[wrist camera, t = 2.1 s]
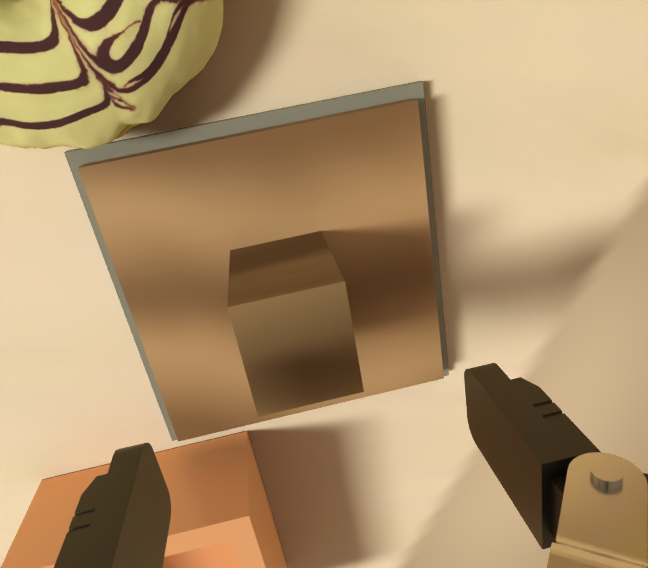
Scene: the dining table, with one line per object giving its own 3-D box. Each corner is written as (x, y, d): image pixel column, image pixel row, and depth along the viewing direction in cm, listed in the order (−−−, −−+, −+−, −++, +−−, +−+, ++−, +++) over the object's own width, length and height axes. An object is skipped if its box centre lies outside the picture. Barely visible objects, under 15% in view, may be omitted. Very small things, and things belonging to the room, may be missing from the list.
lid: (83, 163, 18) (22, 205, 13) (411, 98, 19) (476, 112, 14) (180, 429, 23) (163, 536, 18) (437, 368, 24) (493, 454, 19)
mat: (67, 150, 19) (64, 152, 18) (419, 81, 19) (423, 81, 19) (173, 434, 24) (172, 440, 24) (445, 370, 25) (448, 374, 24)
